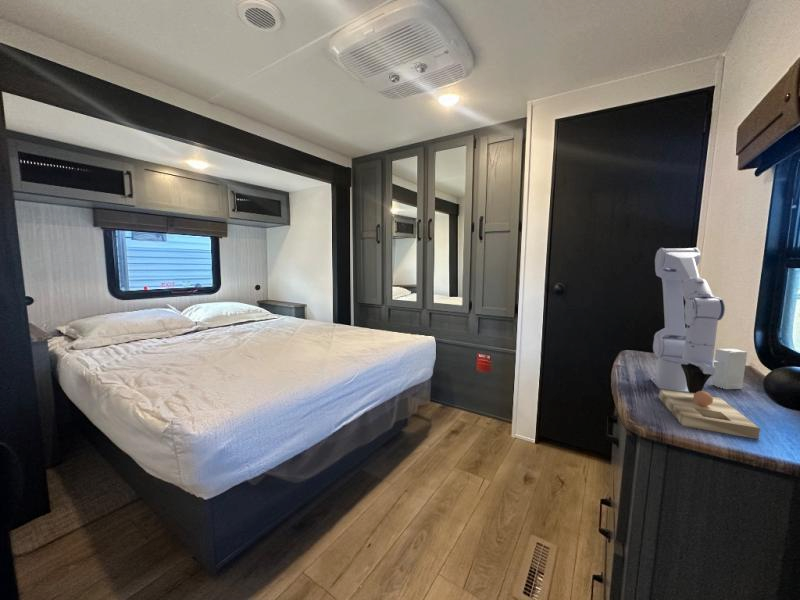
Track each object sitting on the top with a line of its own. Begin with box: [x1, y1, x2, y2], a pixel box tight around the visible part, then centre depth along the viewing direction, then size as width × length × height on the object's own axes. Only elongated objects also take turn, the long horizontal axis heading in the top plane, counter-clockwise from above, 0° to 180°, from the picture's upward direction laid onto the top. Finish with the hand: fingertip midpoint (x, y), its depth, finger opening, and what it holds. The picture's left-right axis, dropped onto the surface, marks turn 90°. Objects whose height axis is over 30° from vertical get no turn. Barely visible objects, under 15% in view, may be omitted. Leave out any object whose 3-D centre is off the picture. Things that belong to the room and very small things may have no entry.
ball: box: [693, 390, 713, 406], centre depth 80 cm, size 4×4×4 cm
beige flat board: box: [658, 388, 761, 440], centre depth 80 cm, size 18×13×2 cm
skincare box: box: [711, 348, 748, 390], centre depth 99 cm, size 6×4×12 cm
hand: (693, 392), depth 85 cm, fingers closed
